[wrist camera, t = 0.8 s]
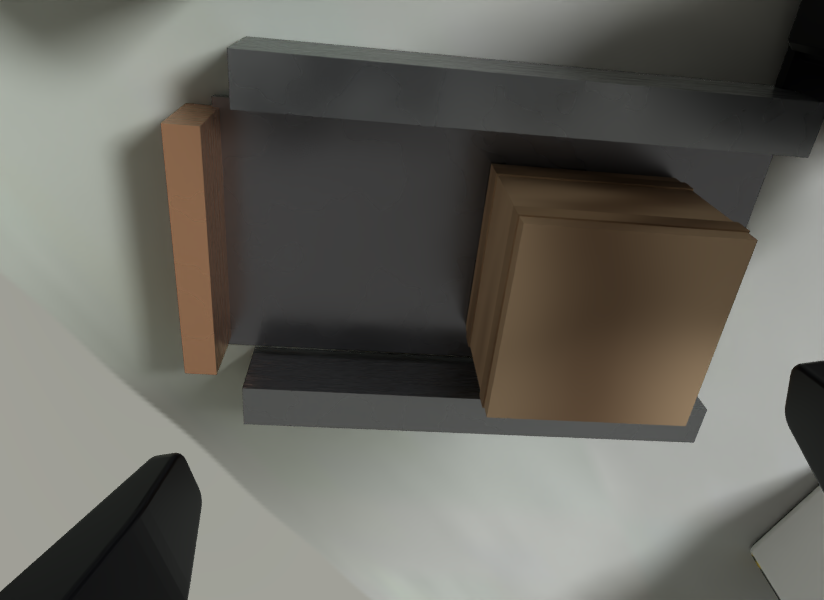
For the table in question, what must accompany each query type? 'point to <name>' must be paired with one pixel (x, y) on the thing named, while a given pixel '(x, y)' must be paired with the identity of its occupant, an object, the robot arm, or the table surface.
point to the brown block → (599, 295)
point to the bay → (413, 213)
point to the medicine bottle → (795, 551)
